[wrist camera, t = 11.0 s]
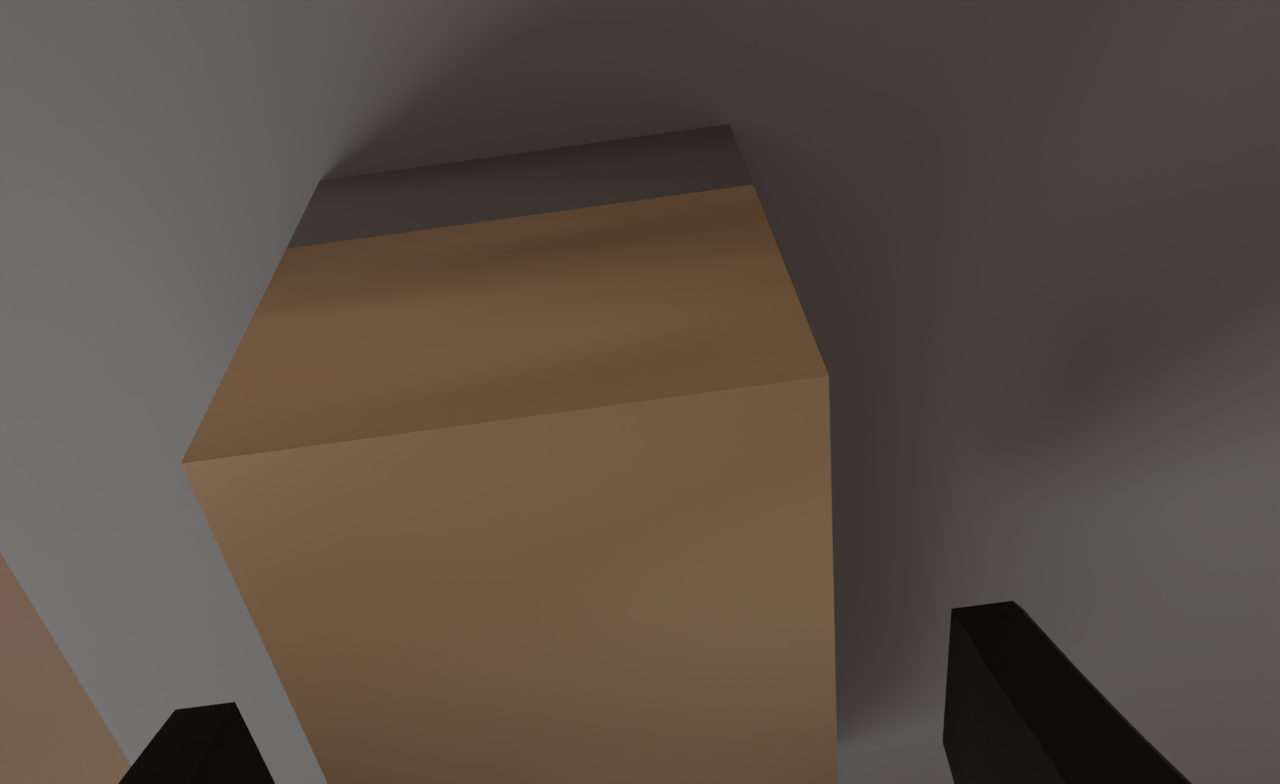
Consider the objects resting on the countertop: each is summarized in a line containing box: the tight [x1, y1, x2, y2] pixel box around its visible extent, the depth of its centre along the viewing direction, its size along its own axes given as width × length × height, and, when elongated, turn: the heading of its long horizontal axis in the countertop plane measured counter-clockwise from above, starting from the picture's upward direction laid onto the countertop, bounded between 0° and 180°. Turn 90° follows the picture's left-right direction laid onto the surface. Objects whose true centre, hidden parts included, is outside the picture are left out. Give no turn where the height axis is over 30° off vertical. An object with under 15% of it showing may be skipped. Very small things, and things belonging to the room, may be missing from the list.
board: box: [0, 0, 1280, 784], centre depth 14 cm, size 16×28×2 cm, turn 97°
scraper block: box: [181, 124, 838, 784], centre depth 11 cm, size 10×4×4 cm, turn 7°
